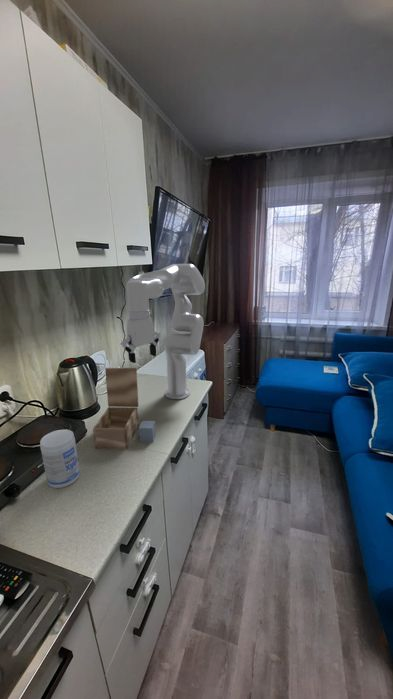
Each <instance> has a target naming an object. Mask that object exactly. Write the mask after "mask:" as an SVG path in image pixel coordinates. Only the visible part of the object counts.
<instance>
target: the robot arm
mask: <svg viewBox="0 0 393 699" xmlns="http://www.w3.org/2000/svg"><path fill="white" fill-rule="evenodd" d="M205 283H206V282H205V279H204V278H203V276H202V274H201V272H200V271H199V269H198V268H197V267H196V266H195V265H194V264H192V263H172V264H170V265H167V266H166V267H164V268H161V269H157V270H153V271H150V272H149V271H148V272H144V273H141V274H137V275H135V276H133V277H130V278H129V279H128V281H127V282H126V284H125V285H126V286H125V289H126V300H127V308H128V310H127V311H128V317H129V319H127V321H126V338H124V340H122V341H121V342H120V345H121V346H122V349H123V350H125V351H126V353H127V354H128V360H129V362H130V363H132V364H135V363H136V362H137V361H136V353H135V352H134V351H135V350H136V348H139V347H142V346H146V345H149V344H150V345H149V355H150V356H153V357H156V356H157V346H158V344H159V341H160V337H161V333H159V332H157V331H155V326H154V322H153V318H152V317H151V314H152V312H153V311H152V309H151V308H150V299H158V298H160V297H162V295H163V294H164V290H168V289H171V292H172V295H173V298H174V308H173V309H174V310H173V314H172V319H171V325H170V326H171V329H172V331H174V332H176V333H170V334H167V335H165V337H164V339H163V347H164V351H165V355H166V356H165V357H166V372H167V373H166V374H167V376H166V377H167V390H165V391H164V394H165V398H167V399H172V400H182V399H186V398H188V397H189V396H190V394H191V393H190V389H189V388H188V387H187V386H188V384H187V362H186V358H185V355H187V356H196V355H197V354H198V353H199V351H200V348H201V342H202V338H203V332H204V325H205V324H204V319H203V316H202V315H200V314H198V313H192V309H193V305H192V302H191V301H190V299H189V298H188V297H187V296H188V295H189V296H200V295H202V294H203V293H204V292H205V289H206V284H205Z"/></svg>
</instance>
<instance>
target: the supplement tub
mask: <svg viewBox="0 0 393 699" xmlns="http://www.w3.org/2000/svg"><path fill="white" fill-rule="evenodd" d="M74 434H75V433H74V432H73V430H70V429H58V430H53V431H51V432H49V433H47V434H45V435H43V437H42V438H41V439H40V441H39V444H40V445H39V448H40V451H41V452H40V453H41V458H42V463H43V469H44V472H45V473H44V474H45V476H46V481H47V484H48V485H49V487H51V488H55V489H59V488H60V489H61V488H64V487H68V486H70V485H72V484H73V483H75V482H76V481H77V480H78V479H79V477H80V474H81V470H80V469H81V468H80V463H79V457H78V456H79V455H78V449H77V444H76V438H75V435H74Z"/></svg>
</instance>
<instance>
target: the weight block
mask: <svg viewBox="0 0 393 699" xmlns="http://www.w3.org/2000/svg"><path fill="white" fill-rule="evenodd" d="M138 432H139V433H138V434H139V443H140V442H141V443H154V441H155V438H156V433H157V431H156V420H142V421H141V422H140V424H139V426H138Z"/></svg>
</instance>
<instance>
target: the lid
mask: <svg viewBox="0 0 393 699" xmlns="http://www.w3.org/2000/svg"><path fill="white" fill-rule="evenodd" d="M105 382H106V391H107V392H106V395H107V406H108V407H130V408H139V390H138V372H137V367H105ZM108 407H107V408H108Z"/></svg>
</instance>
